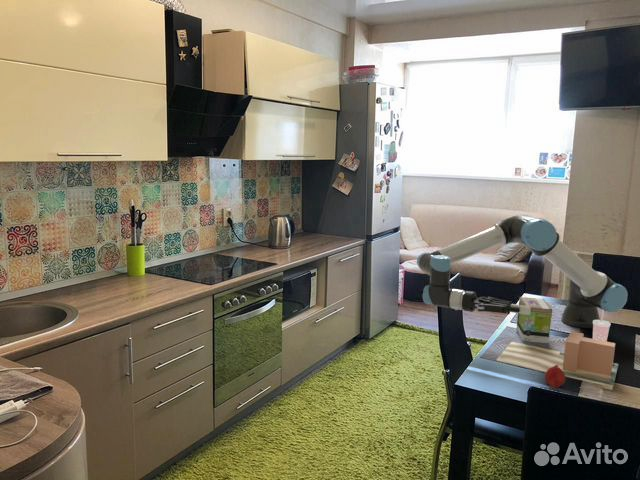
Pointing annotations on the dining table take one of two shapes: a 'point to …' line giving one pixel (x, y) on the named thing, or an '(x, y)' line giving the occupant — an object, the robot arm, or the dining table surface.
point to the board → (551, 363)
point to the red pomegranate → (555, 377)
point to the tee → (588, 354)
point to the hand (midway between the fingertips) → (530, 310)
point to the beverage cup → (601, 329)
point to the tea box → (534, 320)
